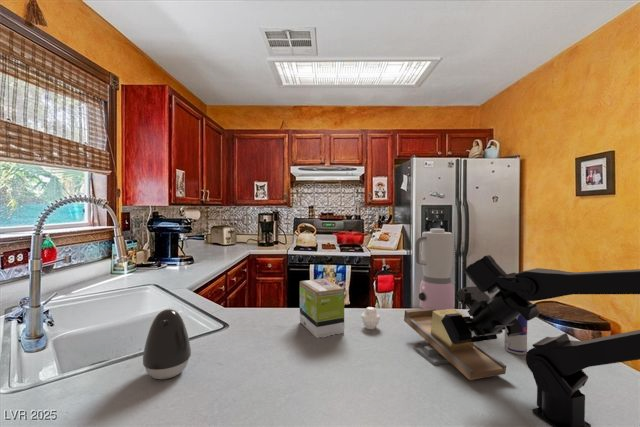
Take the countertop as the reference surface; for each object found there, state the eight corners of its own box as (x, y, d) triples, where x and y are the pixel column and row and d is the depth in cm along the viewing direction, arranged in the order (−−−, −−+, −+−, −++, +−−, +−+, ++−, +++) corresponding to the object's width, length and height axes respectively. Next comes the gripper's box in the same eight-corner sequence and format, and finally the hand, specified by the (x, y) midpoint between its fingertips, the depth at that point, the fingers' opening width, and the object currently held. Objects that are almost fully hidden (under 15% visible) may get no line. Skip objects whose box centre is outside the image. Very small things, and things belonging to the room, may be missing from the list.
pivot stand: (479, 358, 82) (480, 348, 82) (434, 365, 79) (434, 355, 79) (458, 345, 90) (458, 336, 90) (416, 351, 86) (416, 342, 86)
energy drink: (530, 356, 84) (531, 311, 84) (508, 354, 85) (509, 310, 85) (521, 347, 89) (522, 305, 89) (501, 345, 90) (501, 304, 90)
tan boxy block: (473, 347, 80) (476, 322, 79) (450, 351, 78) (453, 325, 77) (451, 332, 88) (453, 308, 87) (430, 335, 85) (432, 310, 84)
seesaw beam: (505, 373, 72) (507, 359, 72) (469, 380, 70) (471, 365, 69) (431, 317, 99) (432, 307, 99) (404, 320, 96) (404, 310, 96)
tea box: (298, 322, 107) (298, 280, 107) (324, 318, 112) (324, 277, 111) (316, 339, 94) (316, 290, 94) (345, 334, 98) (345, 287, 98)
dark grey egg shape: (136, 389, 67) (136, 319, 67) (149, 365, 77) (149, 305, 77) (187, 382, 70) (187, 315, 70) (193, 360, 80) (193, 301, 80)
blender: (439, 306, 126) (440, 227, 126) (461, 316, 114) (462, 229, 114) (405, 310, 121) (406, 228, 121) (425, 321, 110) (426, 230, 109)
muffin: (379, 324, 106) (379, 304, 106) (380, 331, 100) (380, 310, 100) (361, 323, 107) (361, 303, 107) (361, 330, 101) (361, 309, 101)
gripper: (511, 276, 76) (476, 307, 86) (446, 280, 70) (418, 313, 81) (542, 319, 68) (500, 348, 79) (472, 327, 63) (437, 357, 74)
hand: (463, 340), depth 78 cm, fingers closed, pressing on tan boxy block
